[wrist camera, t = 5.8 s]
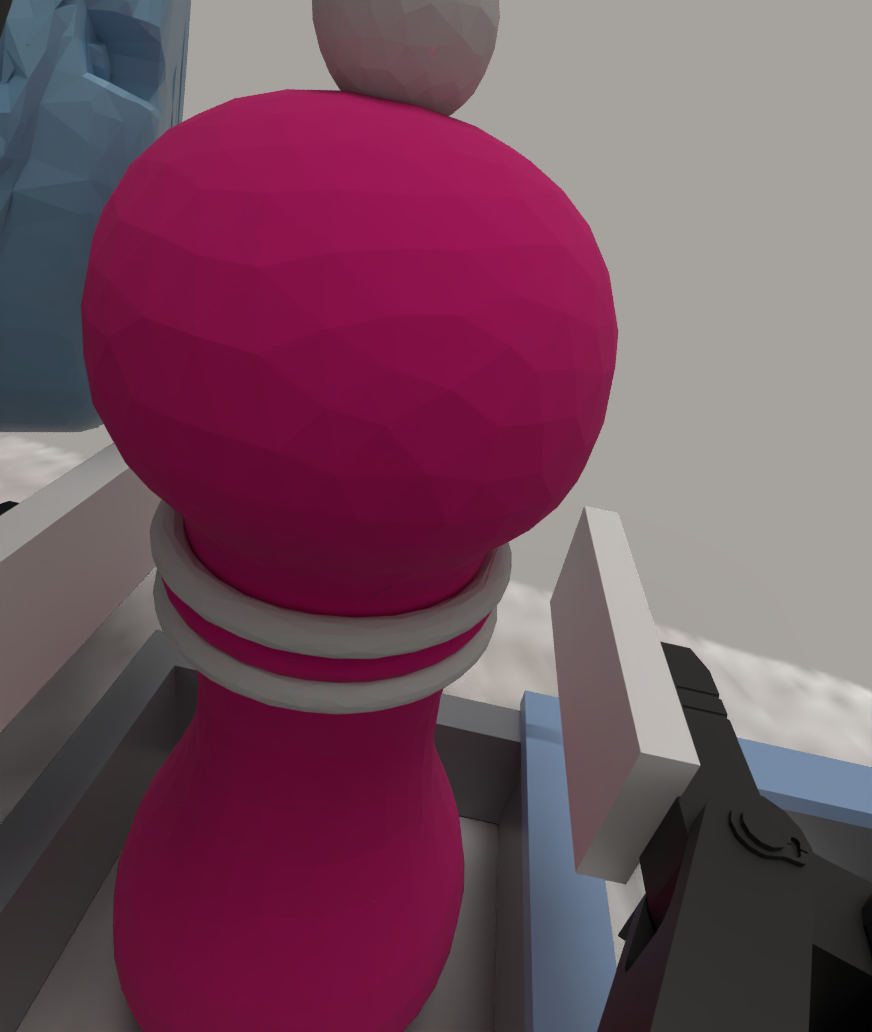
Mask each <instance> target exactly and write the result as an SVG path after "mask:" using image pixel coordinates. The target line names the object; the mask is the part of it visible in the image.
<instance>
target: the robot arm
mask: <svg viewBox="0 0 872 1032" xmlns="http://www.w3.org/2000/svg"><path fill="white" fill-rule="evenodd" d="M190 6H191V0H0V432H82V431H86V430H89V429H94V428H98V427H99V425H102V424H103V422H102V420H101V418H100V416H99V415H98V413H97V411H96V409H95V407H94V406H93V403H92V398H91V393H90V388H89V382H88V377H87V372H86V367H85V361H84V356H83V338H82V317H81V301H82V296H83V290H84V284H85V278H86V272H87V267H88V261H89V255H90V249H91V244H92V238H93V234H94V232H95V229H96V226H97V224H98V221H99V218H100V215H101V213H102V210H103V208H104V206H105V205H106V203H107V201H108V200H109V198H110V196H111V195H112V193H113V192H114V190H115V188H116V187H117V185H118V183H119V182H120V180H121V179H122V177H123V175H124V174H125V172H126V170H127V169H128V167H129V166H130V164H131V163H132V162H133V161H134V160H135V159H136V158H137V157H138V156H140V155H141V154H142V153H143V152H144V151H145V150H146V149H147V148H148V147H149V146H151V145H152V144H153V143H154V142H155V141H156V140H157V139H158V138H159V137H160V136H162V135H163V134H164V133H165V132H166V131H167V130H168V129H170V128H172V127H174V126H176V125H178V124H180V123H182V116H183V104H184V91H185V78H186V65H187V51H188V36H189V21H190ZM161 500H162V499H161V498H160V497H158V496H157V495H156V494H155V493H153V492H152V491H151V490H150V489H149V488H148V487H147V486H146V485H145V484H144V483H143V482H142V481H141V480H140V478H139V477H138V476H137V475H136V474H135V473H134V472H133V471H132V470H131V469H130V468H129V467H128V465H127V464H126V463H125V462H124V460H123V458H122V456H121V454H120V453H119V451H118V449H117V447H116V445H115V443H112V444H111V445H109V446H108V447H106V448H104V449H103V450H101V451H100V452H98V453H97V454H95V455H94V456H92V457H91V458H89V459H87V460H86V461H84V462H83V463H81V464H80V465H78V466H77V467H75V468H74V469H72V470H70V471H69V472H67V473H66V474H64V475H63V476H61V477H60V478H58V479H57V480H55V481H53V482H52V483H50V484H49V485H47V486H46V487H44V488H43V489H41V490H39V491H38V492H36V493H35V494H33V495H32V496H30V497H29V498H27V499H26V500H24V501H22V502H21V503H17V502H12V501H8V502H5V503H2V504H0V732H1V731H2V730H3V729H4V728H5V727H6V726H7V725H8V724H9V723H10V722H11V721H12V719H13V718H14V717H15V716H16V715H17V714H18V713H19V712H20V711H21V710H22V709H23V708H24V707H25V706H26V704H27V703H28V702H29V701H30V700H31V699H32V698H33V697H34V696H35V695H36V694H37V693H38V692H39V691H40V690H41V688H42V687H43V686H44V685H45V684H46V683H47V682H48V681H49V680H50V679H51V678H52V677H53V676H54V675H55V673H56V672H57V671H58V670H59V669H60V668H61V667H62V666H63V665H64V664H65V663H66V662H67V661H68V660H69V658H70V657H71V656H72V655H73V654H74V653H75V652H76V651H77V650H78V649H79V648H80V647H81V646H82V645H83V643H84V642H85V641H86V640H87V639H88V638H89V637H90V636H91V635H92V634H93V633H94V632H95V631H96V630H97V628H98V627H99V626H100V625H101V624H102V623H103V622H104V621H105V620H106V619H107V618H108V617H109V616H110V615H111V614H112V612H113V611H114V610H115V609H116V608H117V607H118V606H119V605H120V604H121V603H122V602H123V601H124V600H125V599H126V597H127V596H128V595H129V594H130V593H131V592H132V591H133V590H134V589H135V588H136V587H137V586H138V585H139V584H140V582H141V581H142V580H143V579H144V578H145V577H146V576H147V575H148V574H149V573H150V572H151V571H152V570H153V569H154V567H155V566H156V565H155V563H154V560H153V558H152V552H151V545H150V527H151V523H152V519H153V516H154V514H155V512H156V509H157V507H158V505H159V503H160V501H161ZM550 606H551V617H552V628H553V638H554V649H555V660H556V670H557V681H558V692H559V703H560V713H561V724H562V735H563V745H564V756H565V767H566V777H567V788H568V799H569V810H570V820H571V831H572V842H573V852H574V863H575V873H577V874H582V875H586V876H591V877H595V878H600V879H604V880H609V881H613V882H618V883H622V884H626V883H627V881H628V880H629V878H630V877H631V875H632V874H633V872H634V870H635V869H636V867H637V866H638V864H639V862H640V865H641V870H642V876H643V881H644V886H645V891H646V894H645V895H644V897H643V898H642V900H641V901H640V903H639V904H638V906H637V907H636V909H635V910H634V912H633V913H632V915H631V916H630V918H629V919H628V921H627V922H626V924H625V925H624V927H623V928H622V930H621V931H620V933H619V934H618V936H619V937H620V938H622V939H623V940H624V941H625V940H626V941H625V945H624V948H623V951H622V954H621V957H620V960H619V964H618V967H617V970H616V973H615V976H614V979H613V982H612V986H611V989H610V992H609V995H608V998H607V1001H606V1005H605V1008H604V1011H603V1014H602V1017H601V1020H600V1024H599V1027H598V1030H597V1032H872V883H871V882H869V881H867V880H865V879H863V878H861V877H859V876H857V875H855V874H853V873H851V872H849V871H847V870H845V869H843V868H841V867H839V866H837V865H835V864H833V863H831V862H829V861H827V860H825V859H824V858H822V857H820V856H819V855H817V854H815V853H813V851H812V848H811V846H810V844H809V842H808V841H807V839H806V837H805V835H804V834H803V832H802V830H801V828H800V827H799V826H798V825H797V824H796V823H795V822H794V821H793V820H792V819H791V818H790V817H789V816H788V814H787V813H786V812H785V811H784V810H782V809H781V808H779V807H778V806H777V805H775V804H774V803H772V802H771V801H770V800H768V799H767V798H765V797H764V796H761V795H760V793H759V791H758V788H757V786H756V783H755V781H754V778H753V776H752V774H751V771H750V769H749V766H748V764H747V761H746V759H745V756H744V754H743V752H742V749H741V747H740V744H739V742H738V739H737V737H736V734H735V732H734V730H733V727H732V725H731V722H730V720H728V719H727V712H726V710H725V708H724V705H723V703H722V700H721V699H719V693H718V690H717V688H716V686H715V683H714V681H713V678H712V676H711V673H710V671H709V670H708V669H707V667H706V666H705V665H704V664H703V663H702V662H701V660H700V659H699V658H698V657H697V656H696V655H695V653H694V652H693V651H692V650H691V649H690V648H686V647H682V646H677V645H673V644H668V643H664V642H660V640H659V637H658V634H657V631H656V627H655V624H654V621H653V618H652V615H651V612H650V609H649V606H648V603H647V600H646V597H645V594H644V591H643V588H642V585H641V582H640V578H639V576H638V572H637V570H636V566H635V564H634V560H633V557H632V554H631V551H630V548H629V545H628V542H627V539H626V536H625V533H624V529H623V526H622V524H621V521H620V517H619V514H618V513H616V512H611V511H606V510H602V509H597V508H592V507H588V506H584V508H583V511H582V514H581V517H580V520H579V523H578V525H577V528H576V531H575V534H574V537H573V539H572V542H571V545H570V548H569V551H568V553H567V556H566V559H565V562H564V564H563V567H562V570H561V573H560V576H559V578H558V581H557V584H556V587H555V590H554V592H553V595H552V598H551V601H550Z"/></svg>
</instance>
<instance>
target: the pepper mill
mask: <svg viewBox="0 0 872 1032" xmlns="http://www.w3.org/2000/svg"><path fill="white" fill-rule="evenodd" d="M312 10H313V22H314V27H315V31H316V35H317V39H318V43H319V48H320V51H321V53H322V56H323V58H324V60H325V63H326V65H327V68H328V70H329V73H330V74H331V76H332V78H333V79H334V81H335V82H336V84H337V85H338V87H339V89H340V90H341V91H332V90H329V91H328V90H289V89H287V90H281V91H276V92H270V93H264V94H258V95H253V96H247V97H241V98H235V99H233V100H230V101H228V102H226V103H223V104H221V105H218V106H216V107H214V108H211V109H209V110H207V111H204V112H202V113H199V114H198V115H195V116H194V117H191V118H190V119H188V120H186V121H184V122H182V123H180V124H178V125H176V126H174V127H172V128H170V129H168V130H167V131H166V132H165V133H164V134H163V135H162V136H160V137H159V138H158V139H157V140H156V141H155V142H154V143H153V144H152V145H151V146H149V147H148V148H147V149H146V150H145V151H144V152H143V153H142V154H141V155H140V156H138V157H137V158H136V159H135V160H134V161H133V162H132V163H131V164H130V166H129V167H128V169H127V170H126V172H125V174H124V175H123V177H122V179H121V180H120V182H119V183H118V185H117V187H116V188H115V190H114V192H113V193H112V195H111V196H110V198H109V200H108V201H107V203H106V205H105V206H104V208H103V210H102V213H101V215H100V218H99V221H98V224H97V226H96V229H95V232H94V234H93V238H92V244H91V249H90V255H89V261H88V267H87V272H86V278H85V284H84V290H83V296H82V301H81V317H82V338H83V356H84V361H85V367H86V372H87V377H88V382H89V388H90V393H91V398H92V403H93V406H94V407H95V409H96V411H97V413H98V415H99V416H100V418H101V420H102V422H103V424H104V425H105V427H106V429H107V431H108V433H109V434H110V436H111V438H112V440H113V441H114V443H115V445H116V447H117V449H118V451H119V453H120V454H121V456H122V458H123V460H124V462H125V463H126V464H127V465H128V467H129V468H130V469H131V470H132V471H133V472H134V473H135V474H136V475H137V476H138V477H139V478H140V480H141V481H142V482H143V483H144V484H145V485H146V486H147V487H148V488H149V489H150V490H151V491H152V492H153V493H155V494H156V495H157V496H158V497H160V498H161V499H162V500H161V501H160V503H159V505H158V507H157V509H156V512H155V514H154V516H153V519H152V523H151V527H150V545H151V552H152V558H153V560H154V563H155V565H156V567H157V573H156V578H155V583H154V591H153V593H154V601H155V609H156V613H157V616H158V619H159V622H160V625H161V628H162V629H163V631H164V633H165V634H166V636H167V637H168V639H169V641H170V642H171V644H172V646H173V647H174V648H175V649H176V650H177V651H178V652H179V653H180V654H181V655H182V656H183V658H184V659H185V660H186V661H187V662H188V663H189V664H190V665H191V666H192V667H194V668H195V669H196V671H197V677H198V683H199V685H198V697H197V709H196V712H195V715H194V718H193V720H192V721H191V723H190V725H189V726H188V728H187V730H186V731H185V733H184V735H183V737H182V738H181V740H180V741H179V742H178V744H177V745H176V747H175V748H174V749H173V751H172V752H171V754H170V755H169V756H168V758H167V759H166V761H165V762H164V763H163V765H162V766H161V768H160V769H159V770H158V772H157V773H156V775H155V776H154V778H153V780H152V782H151V784H150V786H149V788H148V789H147V791H146V793H145V795H144V797H143V799H142V801H141V803H140V805H139V807H138V810H137V812H136V815H135V818H134V821H133V823H132V826H131V829H130V831H129V834H128V837H127V840H126V842H125V845H124V848H123V851H122V853H121V856H120V859H119V864H118V870H117V877H116V884H115V891H114V907H113V939H114V959H115V963H116V967H117V971H118V976H119V980H120V984H121V989H122V991H123V993H124V995H125V998H126V1000H127V1002H128V1004H129V1007H130V1009H131V1011H132V1013H133V1015H134V1018H135V1019H136V1021H137V1022H138V1024H139V1025H140V1027H141V1029H142V1030H143V1032H403V1030H404V1029H405V1028H406V1027H407V1026H408V1025H409V1024H410V1022H411V1021H412V1020H413V1019H414V1018H415V1017H416V1016H417V1015H418V1013H419V1012H420V1010H421V1008H422V1007H423V1005H424V1004H425V1002H426V1001H427V999H428V997H429V996H430V994H431V993H432V991H433V990H434V988H435V986H436V984H437V982H438V979H439V977H440V975H441V972H442V970H443V968H444V965H445V963H446V961H447V958H448V956H449V954H450V950H451V946H452V942H453V938H454V934H455V930H456V926H457V921H458V917H459V912H460V907H461V901H462V896H463V891H464V855H463V847H462V838H461V829H460V821H459V813H458V809H457V806H456V802H455V799H454V795H453V792H452V789H451V786H450V783H449V780H448V777H447V775H446V772H445V769H444V767H443V764H442V762H441V760H440V757H439V755H438V753H437V751H436V747H435V744H434V733H435V727H436V721H437V716H438V710H439V704H440V698H441V694H442V691H443V689H444V688H445V687H446V686H448V685H449V684H451V683H452V682H454V681H455V680H457V679H458V678H460V677H461V676H462V675H463V674H464V673H465V672H467V671H468V670H469V669H470V668H471V667H472V666H473V665H474V664H475V663H476V662H477V661H478V659H479V658H480V657H481V655H482V654H483V653H484V651H485V650H486V648H487V646H488V643H489V641H490V639H491V637H492V634H493V631H494V627H495V624H496V621H497V604H498V603H499V602H500V600H501V598H502V596H503V594H504V592H505V590H506V587H507V585H508V583H509V580H510V573H511V549H510V546H509V543H508V542H509V541H511V540H512V539H514V538H516V537H518V536H520V535H521V534H523V533H525V532H526V531H529V530H530V529H531V528H533V527H534V526H535V525H536V524H537V523H539V522H540V521H541V520H542V519H544V518H545V517H546V516H547V515H548V514H550V513H551V512H552V511H553V510H554V509H556V508H557V507H558V506H559V504H560V503H561V502H562V501H563V499H564V498H565V497H566V495H567V494H568V493H569V491H570V490H571V489H572V487H573V486H574V485H575V483H576V482H577V481H578V479H579V477H580V475H581V473H582V471H583V470H584V468H585V465H586V463H587V461H588V459H589V456H590V454H591V452H592V449H593V447H594V444H595V442H596V440H597V438H598V435H599V433H600V431H601V428H602V425H603V423H604V419H605V414H606V410H607V405H608V400H609V395H610V390H611V385H612V380H613V375H614V370H615V363H616V351H617V340H618V328H617V322H616V315H615V309H614V302H613V296H612V289H611V283H610V276H609V272H608V269H607V267H606V265H605V262H604V260H603V257H602V255H601V253H600V250H599V248H598V246H597V243H596V241H595V238H594V236H593V233H592V231H591V228H590V226H589V225H588V223H587V222H586V221H585V219H584V218H583V217H582V216H581V214H580V213H579V211H578V210H577V209H576V207H575V206H574V205H573V204H572V202H571V201H570V199H569V198H568V197H567V195H566V194H565V193H564V191H562V189H561V188H560V187H559V186H557V185H556V184H555V183H554V182H553V181H552V180H551V179H550V178H549V177H547V176H546V175H545V174H544V173H543V172H542V171H541V170H540V169H539V168H537V167H536V166H535V165H534V164H533V163H532V162H531V161H529V160H528V159H526V158H525V157H524V156H522V155H521V154H519V153H518V152H517V151H515V150H514V149H513V148H511V147H510V146H508V145H506V144H505V143H503V142H501V141H499V140H498V139H496V138H494V137H493V136H491V135H489V134H488V133H486V132H484V131H483V130H481V129H479V128H478V127H476V126H473V125H471V124H468V123H465V122H462V121H460V120H457V119H455V118H452V117H449V115H451V114H453V113H454V112H455V111H456V110H457V109H459V108H460V107H461V106H462V105H463V104H464V103H465V102H466V101H467V100H468V99H469V98H470V97H471V96H472V95H473V94H474V92H475V90H476V89H477V87H478V85H479V83H480V81H481V80H482V78H483V76H484V74H485V72H486V69H487V67H488V64H489V62H490V59H491V57H492V54H493V51H494V48H495V43H496V37H497V31H498V25H499V18H500V17H499V16H500V15H499V0H312Z"/></svg>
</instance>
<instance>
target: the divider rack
mask: <svg viewBox="0 0 872 1032" xmlns="http://www.w3.org/2000/svg"><path fill="white" fill-rule="evenodd" d="M198 685H199V683H198V677H197V671H196V669H195V668H194V667H192V666H191V665H190V664H189V663H188V662H187V661H186V660H185V659H184V658H183V656H182V655H181V654H180V653H179V652H178V651H177V650H176V649H175V648H174V647H173V646H172V644H171V642H170V641H169V639H168V637H167V636H166V634H165V633H164V632H163V631H158V630H156V631H155V632H154V633H153V634H152V636H151V637H150V638H149V639H148V641H147V642H146V643H145V644H144V646H143V647H142V648H141V649H140V651H139V652H138V653H137V654H136V656H135V657H134V658H133V659H132V661H131V662H130V663H129V664H128V666H127V667H126V668H125V670H124V671H123V672H122V673H121V675H120V676H119V677H118V678H117V680H116V681H115V682H114V683H113V685H112V686H111V687H110V688H109V690H108V691H107V692H106V693H105V695H104V696H103V697H102V698H101V700H100V701H99V702H98V703H97V705H96V706H95V707H94V708H93V710H92V711H91V712H90V713H89V715H88V716H87V717H86V718H85V720H84V721H83V722H82V723H81V725H80V726H79V727H78V728H77V730H76V731H75V732H74V733H73V735H72V736H71V737H70V738H69V740H68V741H67V742H66V743H65V745H64V746H63V747H62V748H61V750H60V751H59V752H58V754H57V755H56V756H55V757H54V759H53V760H52V761H51V762H50V764H49V765H48V766H47V767H46V769H45V770H44V771H43V772H42V774H41V775H40V776H39V777H38V779H37V780H36V781H35V782H34V784H33V785H32V786H31V787H30V789H29V790H28V791H27V792H26V794H25V795H24V796H23V797H22V799H21V800H20V801H19V802H18V804H17V805H16V806H15V807H14V809H13V810H12V811H11V812H10V814H9V815H8V816H7V817H6V819H5V820H4V821H3V822H2V824H1V825H0V1032H15V1031H16V1029H17V1028H18V1026H19V1024H20V1023H21V1021H22V1019H23V1018H24V1016H25V1014H26V1012H27V1011H28V1009H29V1007H30V1006H31V1004H32V1002H33V1000H34V999H35V997H36V995H37V994H38V992H39V990H40V988H41V987H42V985H43V983H44V982H45V980H46V978H47V977H48V975H49V973H50V971H51V970H52V968H53V966H54V965H55V963H56V961H57V959H58V958H59V956H60V954H61V953H62V951H63V949H64V948H65V946H66V944H67V942H68V941H69V939H70V937H71V936H72V934H73V932H74V930H75V929H76V927H77V925H78V924H79V922H80V920H81V919H82V917H83V915H84V913H85V912H86V910H87V908H88V907H89V905H90V903H91V901H92V900H93V898H94V896H95V895H96V893H97V891H98V890H99V888H100V886H101V884H102V883H103V881H104V879H105V878H106V876H107V874H108V872H109V871H110V869H111V867H112V866H113V864H114V862H115V861H116V859H117V857H118V855H119V854H120V852H121V850H122V849H123V847H124V845H125V842H126V840H127V837H128V834H129V831H130V829H131V826H132V823H133V821H134V818H135V815H136V812H137V810H138V807H139V805H140V803H141V801H142V799H143V797H144V795H145V793H146V791H147V789H148V788H149V786H150V784H151V782H152V780H153V778H154V776H155V775H156V773H157V772H158V770H159V769H160V768H161V766H162V765H163V763H164V762H165V761H166V759H167V758H168V756H169V755H170V754H171V752H172V751H173V749H174V748H175V747H176V745H177V744H178V742H179V741H180V740H181V738H182V737H183V735H184V733H185V731H186V730H187V728H188V726H189V725H190V723H191V721H192V720H193V718H194V715H195V712H196V709H197V697H198ZM737 739H738V742H739V744H740V747H741V749H742V752H743V754H744V756H745V759H746V761H747V764H748V766H749V769H750V771H751V774H752V776H753V778H754V781H755V783H756V786H757V788H758V791H759V793H760V795H761V796H764V797H765V798H767V799H768V800H770V801H771V802H772V803H774V804H775V805H777V806H778V807H779V808H781V809H782V810H784V811H785V812H786V813H787V814H788V816H789V817H790V818H791V819H792V820H793V821H794V822H795V823H796V824H797V825H798V826H799V827H800V828H801V830H802V832H803V834H804V835H805V837H806V839H807V841H808V842H809V844H810V846H811V848H812V851H813V853H815V854H817V855H819V856H820V857H822V858H824V859H825V860H827V861H829V862H831V863H833V864H835V865H837V866H839V867H841V868H843V869H845V870H847V871H849V872H851V873H853V874H855V875H857V876H859V877H861V878H863V879H865V880H867V881H869V882H871V883H872V767H868V766H863V765H859V764H854V763H850V762H845V761H841V760H836V759H832V758H827V757H823V756H818V755H814V754H809V753H805V752H800V751H796V750H791V749H787V748H782V747H778V746H773V745H769V744H764V743H760V742H755V741H751V740H746V739H742V738H737ZM434 744H435V747H436V751H437V753H438V755H439V757H440V760H441V762H442V764H443V767H444V769H445V772H446V775H447V777H448V780H449V783H450V786H451V789H452V792H453V795H454V799H455V802H456V806H457V809H458V813H459V815H460V816H464V817H469V818H473V819H478V820H482V821H487V822H491V823H495V824H499V828H498V874H497V920H496V966H495V1012H494V1032H597V1030H598V1027H599V1024H600V1020H601V1017H602V1014H603V1011H604V1008H605V1005H606V1001H607V998H608V995H609V992H610V989H611V986H612V982H613V979H614V976H615V973H616V970H617V967H616V960H615V952H614V945H613V937H612V930H611V922H610V915H609V907H608V899H607V892H606V884H605V880H604V879H600V878H595V877H591V876H586V875H582V874H577V873H575V863H574V852H573V842H572V831H571V820H570V810H569V799H568V788H567V777H566V767H565V756H564V745H563V735H562V724H561V713H560V703H559V698H557V697H552V696H548V695H543V694H539V693H534V692H530V691H525V692H524V695H523V697H522V700H521V703H520V711H518V710H514V709H509V708H505V707H500V706H496V705H491V704H487V703H482V702H478V701H473V700H469V699H464V698H460V697H455V696H451V695H446V694H441V698H440V704H439V710H438V716H437V721H436V727H435V733H434Z"/></svg>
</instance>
